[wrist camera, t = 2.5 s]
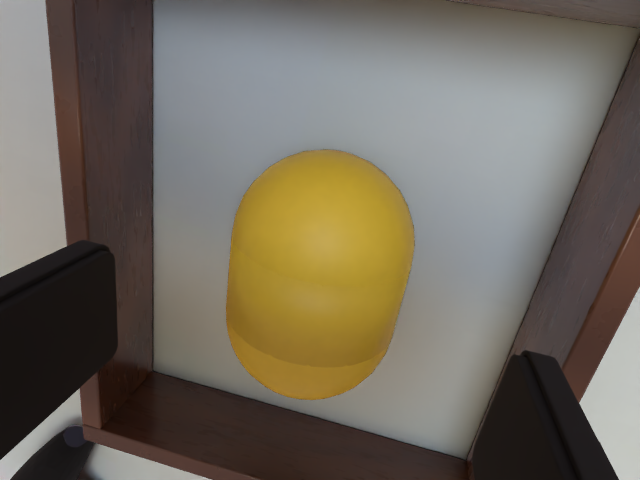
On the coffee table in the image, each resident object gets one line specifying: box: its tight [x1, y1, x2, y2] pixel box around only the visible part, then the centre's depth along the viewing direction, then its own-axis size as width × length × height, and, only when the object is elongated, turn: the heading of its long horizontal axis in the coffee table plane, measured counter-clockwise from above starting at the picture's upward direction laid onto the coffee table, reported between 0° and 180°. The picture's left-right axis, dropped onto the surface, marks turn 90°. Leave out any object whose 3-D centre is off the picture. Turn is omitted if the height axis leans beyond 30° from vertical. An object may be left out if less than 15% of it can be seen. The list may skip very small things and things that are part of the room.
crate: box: [45, 0, 640, 480], centre depth 13 cm, size 18×16×4 cm
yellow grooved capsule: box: [226, 150, 415, 400], centre depth 13 cm, size 8×5×5 cm
